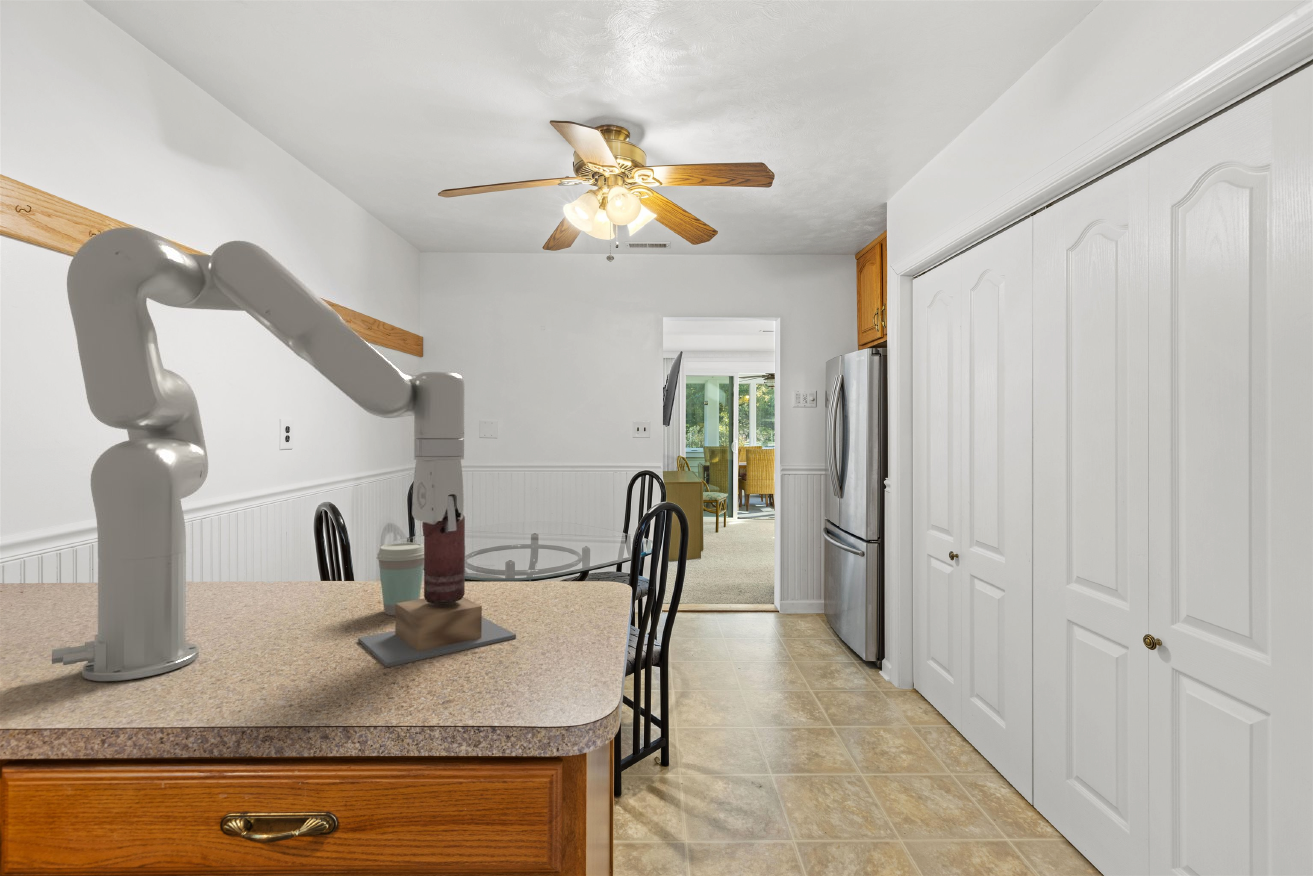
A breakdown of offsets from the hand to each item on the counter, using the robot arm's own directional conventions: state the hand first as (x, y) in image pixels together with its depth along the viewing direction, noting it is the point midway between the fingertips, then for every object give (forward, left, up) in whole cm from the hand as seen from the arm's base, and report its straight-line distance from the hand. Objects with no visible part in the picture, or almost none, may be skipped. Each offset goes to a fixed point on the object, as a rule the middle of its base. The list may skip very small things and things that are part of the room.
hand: (438, 565), depth 100 cm
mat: (0, 0, -12) cm, 12 cm away
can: (+1, 0, -6) cm, 6 cm away
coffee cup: (+1, +20, -12) cm, 23 cm away
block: (0, 0, -11) cm, 11 cm away
